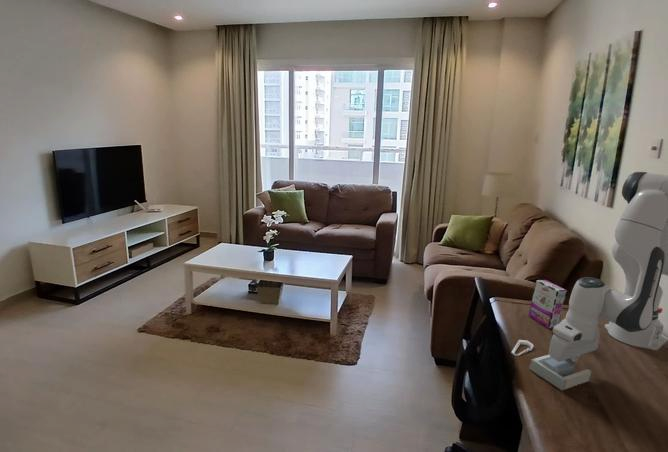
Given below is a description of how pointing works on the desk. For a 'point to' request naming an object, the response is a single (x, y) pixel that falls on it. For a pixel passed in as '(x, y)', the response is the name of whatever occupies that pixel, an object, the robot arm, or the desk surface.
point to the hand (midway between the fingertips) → (569, 366)
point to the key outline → (524, 344)
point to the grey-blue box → (560, 366)
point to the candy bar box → (547, 303)
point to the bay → (555, 377)
